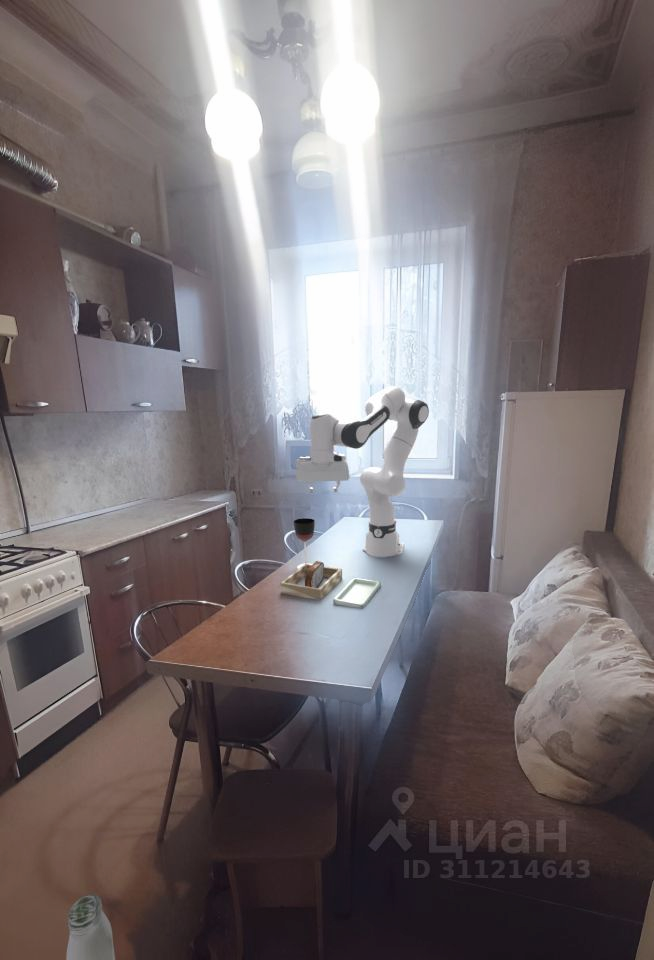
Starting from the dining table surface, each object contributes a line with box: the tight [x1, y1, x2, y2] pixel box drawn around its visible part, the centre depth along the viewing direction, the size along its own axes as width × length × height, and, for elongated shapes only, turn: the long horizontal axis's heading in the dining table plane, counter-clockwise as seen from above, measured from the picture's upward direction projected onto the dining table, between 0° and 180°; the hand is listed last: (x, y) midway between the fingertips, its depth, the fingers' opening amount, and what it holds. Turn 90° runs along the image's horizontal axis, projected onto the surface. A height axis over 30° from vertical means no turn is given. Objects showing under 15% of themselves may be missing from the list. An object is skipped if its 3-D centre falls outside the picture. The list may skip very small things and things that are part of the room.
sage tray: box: [332, 577, 382, 609], centre depth 155 cm, size 20×11×2 cm, turn 156°
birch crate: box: [279, 563, 343, 601], centre depth 164 cm, size 20×16×4 cm
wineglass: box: [293, 517, 316, 570], centre depth 182 cm, size 8×9×20 cm
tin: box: [304, 560, 325, 588], centre depth 164 cm, size 15×3×8 cm, turn 161°
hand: (323, 492), depth 167 cm, fingers open, 8 cm apart
